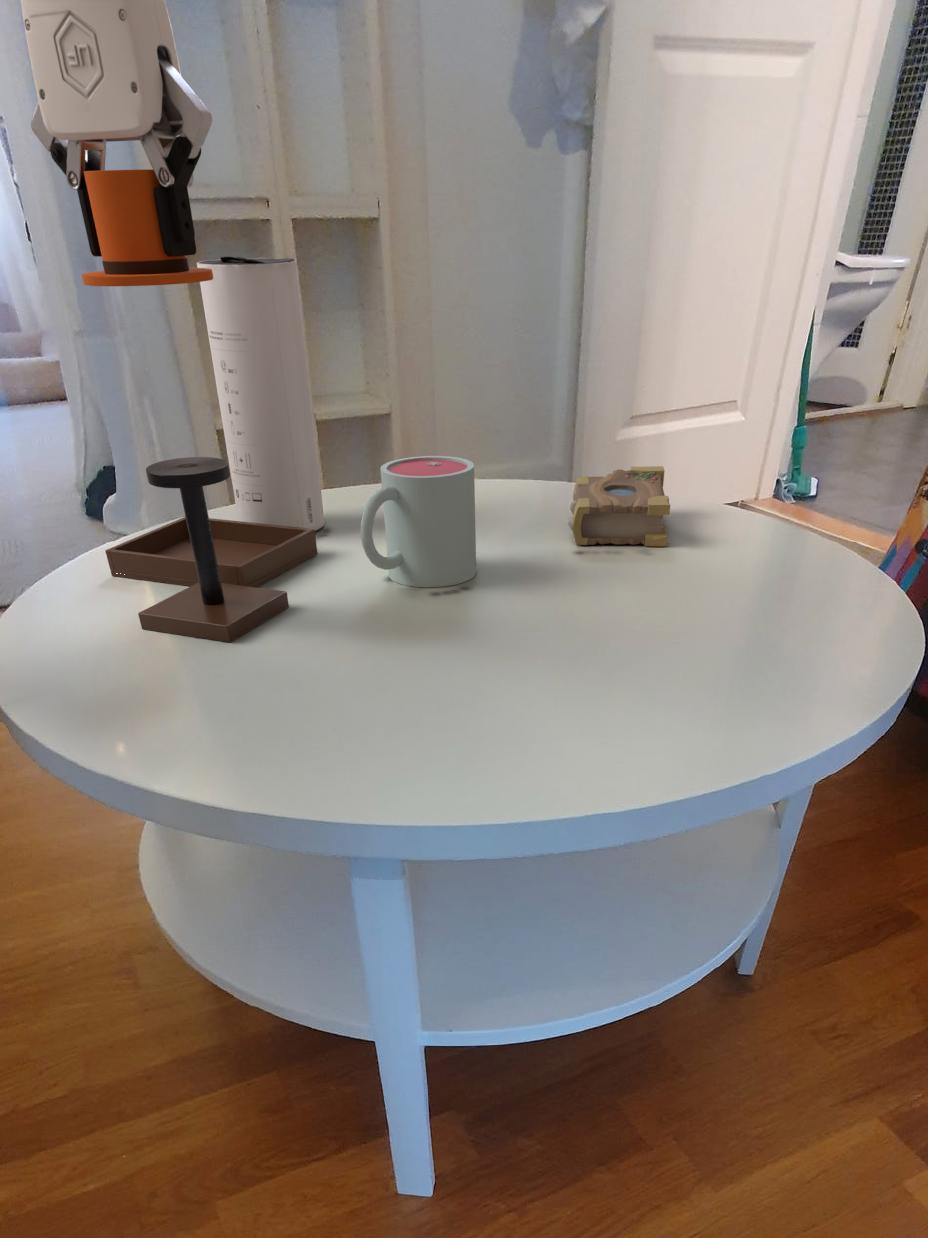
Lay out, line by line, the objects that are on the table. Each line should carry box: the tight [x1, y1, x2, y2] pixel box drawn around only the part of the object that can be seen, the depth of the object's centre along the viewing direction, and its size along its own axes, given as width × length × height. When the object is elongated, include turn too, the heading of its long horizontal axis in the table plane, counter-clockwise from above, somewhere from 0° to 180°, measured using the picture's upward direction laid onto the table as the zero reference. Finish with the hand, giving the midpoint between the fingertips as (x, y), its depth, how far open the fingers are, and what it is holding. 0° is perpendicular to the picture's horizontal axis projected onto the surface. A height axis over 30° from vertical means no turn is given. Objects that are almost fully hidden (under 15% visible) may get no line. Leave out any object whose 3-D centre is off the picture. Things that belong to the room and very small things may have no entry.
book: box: [567, 465, 671, 547], centre depth 107 cm, size 15×11×5 cm
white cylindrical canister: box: [196, 255, 325, 532], centre depth 104 cm, size 11×10×26 cm
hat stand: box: [137, 456, 290, 643], centre depth 85 cm, size 10×10×13 cm
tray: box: [105, 516, 319, 588], centre depth 101 cm, size 17×14×3 cm
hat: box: [81, 169, 213, 287], centre depth 72 cm, size 10×10×7 cm
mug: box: [360, 455, 477, 588], centre depth 94 cm, size 14×9×10 cm
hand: (143, 253), depth 73 cm, fingers closed on hat, 6 cm apart
